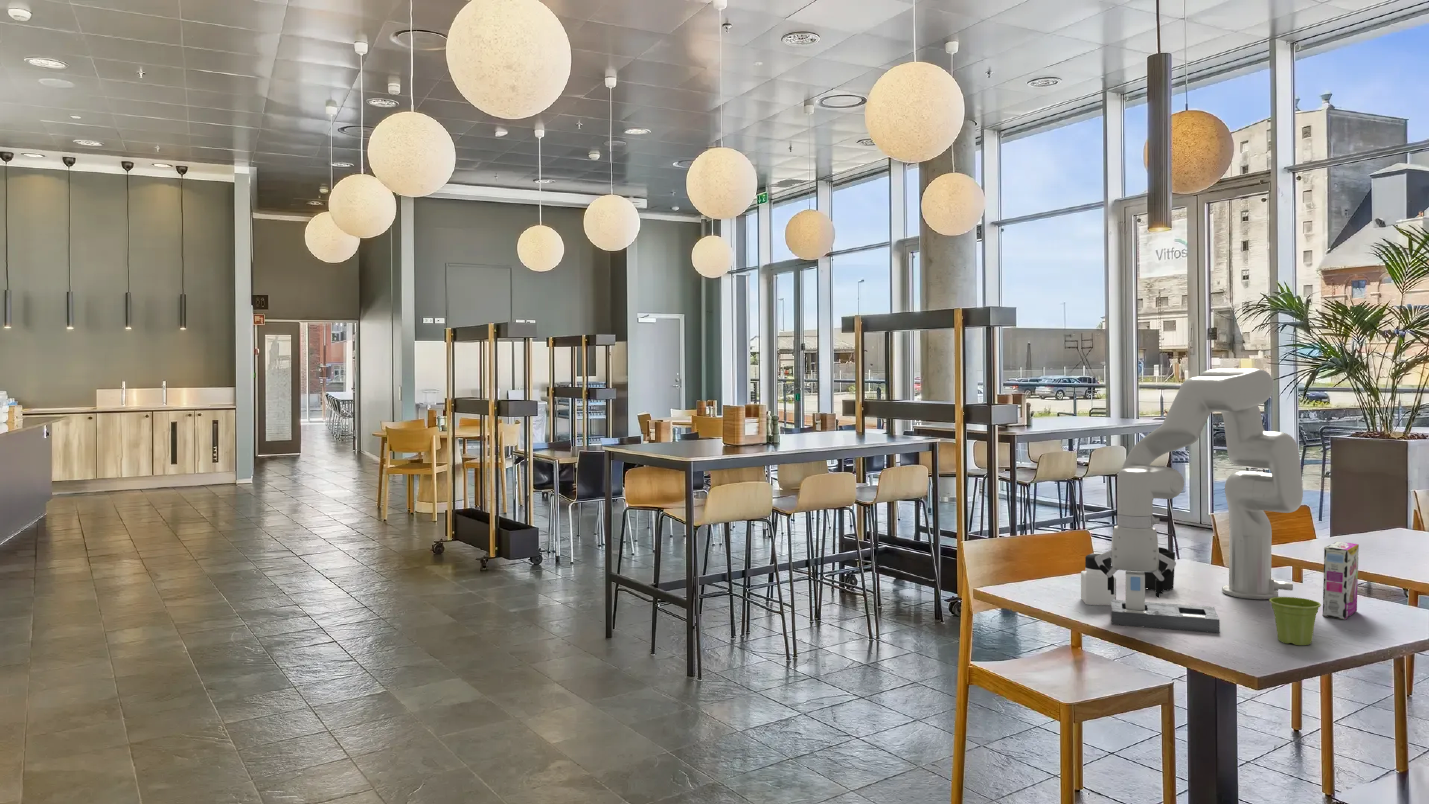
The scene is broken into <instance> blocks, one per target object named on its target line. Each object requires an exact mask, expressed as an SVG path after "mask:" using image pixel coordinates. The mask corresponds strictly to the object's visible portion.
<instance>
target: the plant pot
mask: <svg viewBox="0 0 1429 804" xmlns="http://www.w3.org/2000/svg"><path fill="white" fill-rule="evenodd" d="M1268 601H1269V603H1270V604H1271V607H1272V609H1273V612H1274V613H1273V614H1274V621H1275V626H1276V634H1277V639H1278V641H1279V642H1281V643H1283V644H1293V645H1296V646H1309V645H1311V644H1312V642H1313V637H1314V630H1315V623H1316V618H1317V614H1318V613H1319V609H1320V608H1321V606H1322V604H1321V603H1320V602H1319V601H1316V600H1313V599H1309V598H1308V599H1307V598H1302V597H1295V596H1278V597H1273V598H1270V599H1268Z"/></svg>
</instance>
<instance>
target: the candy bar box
mask: <svg viewBox="0 0 1429 804" xmlns="http://www.w3.org/2000/svg"><path fill="white" fill-rule="evenodd" d="M1359 546H1360V545H1359V544H1358V543H1353V542H1345V541H1344V542H1343V541H1335V542H1334V543H1331V544H1329V545H1327V546H1324V548H1323V551H1324V553H1323V586H1322V588H1323V591H1322V594H1323V595H1322V617H1325V618H1330V619H1336V620H1337V619H1338V620H1347V619H1349V617H1351V616H1352V615H1353V614H1355V613H1356V612H1357V610H1358V584H1359V583H1358V581H1359V580H1358V579H1359V577H1358V576H1359V549H1360V548H1359Z"/></svg>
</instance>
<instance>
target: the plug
mask: <svg viewBox="0 0 1429 804" xmlns="http://www.w3.org/2000/svg"><path fill="white" fill-rule="evenodd" d="M1145 598H1146V589H1145V573H1144V572H1138V571H1125V600H1126V609H1132V610H1145V602H1146V599H1145Z"/></svg>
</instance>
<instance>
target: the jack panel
mask: <svg viewBox="0 0 1429 804" xmlns="http://www.w3.org/2000/svg"><path fill="white" fill-rule="evenodd" d="M1110 607H1111V610H1110V611H1111V613H1110V615H1111V625H1114V624H1117V626H1126V625H1127V626H1128V627H1138V626H1144V627H1143V628H1150V627H1152V628H1153V629H1164V630H1175V629H1176V630H1175V631H1187V630H1188V632H1198V633H1199V632H1203V633H1211V632H1216V633H1215V634H1220V624H1221V623H1220V621H1221V620H1220V618H1219V615H1218V613H1217V610H1216V608H1215V606H1209V605H1208V606H1205V605H1196V604H1195V605H1193V604H1181V603H1167V602H1166V603H1165V602H1152V601H1145V610H1132V609H1126V599H1116V600H1113V599H1111V606H1110ZM1118 624H1120V625H1118ZM1152 628H1151V629H1152ZM1177 629H1178V630H1177ZM1179 629H1180V630H1179Z"/></svg>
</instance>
